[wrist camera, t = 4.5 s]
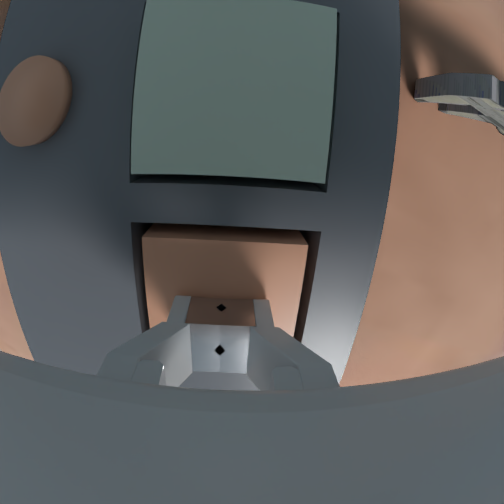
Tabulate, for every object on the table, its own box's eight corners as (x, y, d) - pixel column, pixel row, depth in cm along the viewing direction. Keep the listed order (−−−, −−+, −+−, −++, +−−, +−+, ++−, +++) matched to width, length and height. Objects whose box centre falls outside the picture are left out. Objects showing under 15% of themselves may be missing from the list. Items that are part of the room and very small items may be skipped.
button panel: (87, -68, 6) (53, -105, 2) (352, -71, 7) (384, -115, 3) (68, 325, 15) (33, 377, 10) (316, 342, 16) (338, 405, 11)
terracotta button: (163, 211, 11) (141, 236, 9) (291, 218, 12) (308, 245, 9) (168, 319, 13) (155, 362, 10) (277, 324, 14) (287, 369, 11)
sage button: (169, 30, 8) (147, -2, 5) (311, 38, 8) (337, 8, 6) (158, 163, 10) (130, 174, 7) (301, 170, 10) (325, 183, 8)
